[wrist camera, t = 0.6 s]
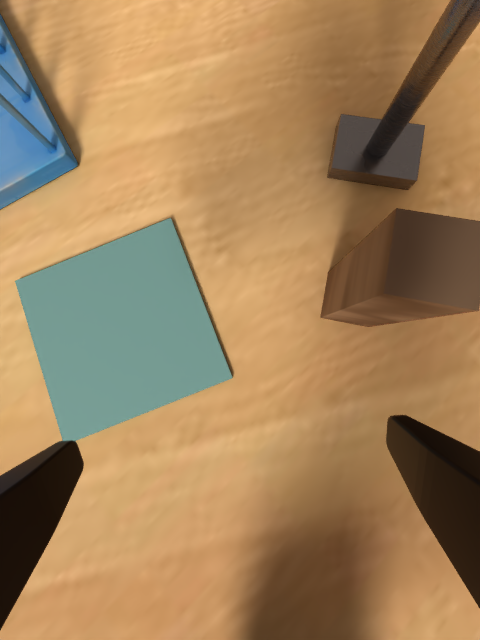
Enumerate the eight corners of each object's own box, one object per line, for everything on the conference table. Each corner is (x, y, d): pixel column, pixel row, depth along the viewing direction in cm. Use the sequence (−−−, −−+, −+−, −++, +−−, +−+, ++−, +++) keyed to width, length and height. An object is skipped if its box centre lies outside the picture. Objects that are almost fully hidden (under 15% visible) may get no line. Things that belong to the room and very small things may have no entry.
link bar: (375, 280, 21) (489, 222, 11) (368, 326, 20) (478, 310, 10) (328, 272, 21) (396, 208, 11) (320, 317, 21) (383, 293, 11)
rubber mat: (232, 377, 21) (232, 378, 20) (67, 443, 21) (64, 445, 20) (172, 220, 22) (170, 217, 22) (19, 282, 22) (14, 280, 22)
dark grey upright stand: (415, 137, 22) (1099, -726, 4) (407, 189, 21) (1131, -526, 4) (336, 126, 22) (655, -693, 5) (327, 177, 22) (640, -513, 4)
